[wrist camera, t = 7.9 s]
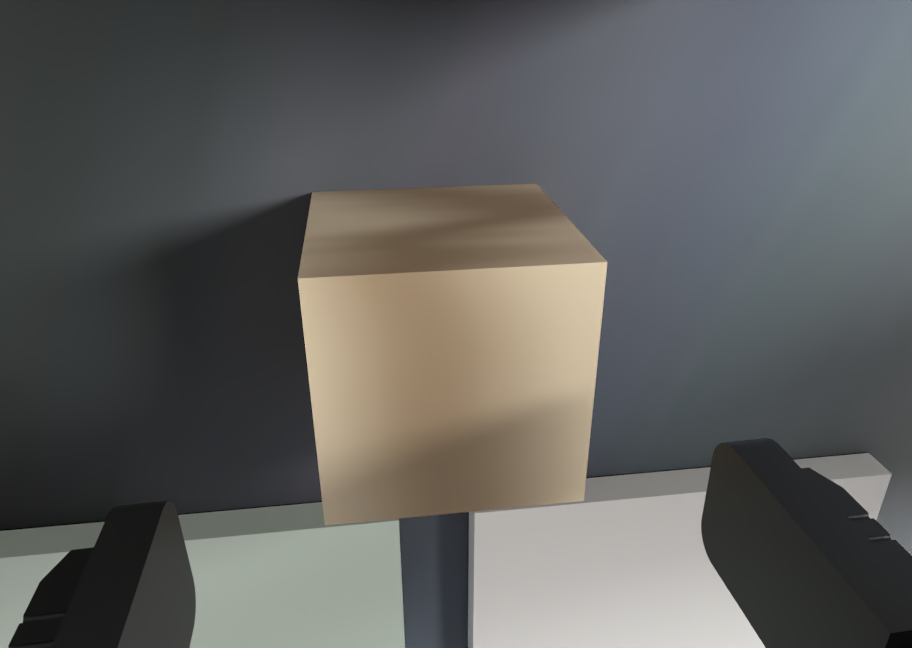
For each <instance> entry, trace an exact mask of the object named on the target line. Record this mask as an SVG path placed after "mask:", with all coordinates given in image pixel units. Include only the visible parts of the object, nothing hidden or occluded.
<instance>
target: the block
mask: <svg viewBox="0 0 912 648" xmlns="http://www.w3.org/2000/svg"><path fill="white" fill-rule="evenodd" d="M606 272H607V261H606V260H605V259H604V258H603V257H602V255H601V254H600V253H599V252H598V251H597V250H596V249H595V248H594V247H593V245H592V244H591V243H590V242H589V241H588V240H587V239H586V238H585V237H584V236H583V234H582V233H581V232H580V231H579V230H578V229H577V228H576V227H575V226H574V224H573V223H572V222H571V221H570V220H569V219H568V218H567V217H566V216H565V214H564V213H563V212H562V211H561V210H560V209H559V208H558V207H557V206H556V204H555V203H554V202H553V201H552V200H551V199H550V198H549V197H548V196H547V194H546V193H545V192H544V191H543V190H542V189H541V188H540V187H539V186H538V185H537V184H512V185H486V186H460V187H434V188H408V189H382V190H356V191H330V192H312V196H311V202H310V208H309V214H308V220H307V226H306V232H305V238H304V244H303V250H302V256H301V262H300V268H299V274H298V286H299V295H300V304H301V313H302V322H303V331H304V341H305V350H306V359H307V368H308V377H309V386H310V395H311V404H312V413H313V422H314V431H315V441H316V450H317V459H318V468H319V477H320V486H321V495H322V504H323V513H324V522H325V526H326V525H336V524H347V523H357V522H368V521H378V520H389V519H399V518H410V517H421V516H431V515H442V514H452V513H463V512H473V511H484V510H494V509H505V508H515V507H526V506H536V505H547V504H557V503H568V502H578V501H584V493H585V483H586V473H587V463H588V453H589V443H590V433H591V423H592V413H593V402H594V392H595V382H596V372H597V362H598V352H599V342H600V332H601V322H602V312H603V302H604V292H605V282H606Z"/></svg>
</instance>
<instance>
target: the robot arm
mask: <svg viewBox="0 0 912 648" xmlns="http://www.w3.org/2000/svg"><path fill="white" fill-rule="evenodd" d="M701 533H702V539H703V544H704V547H705V551H706V553H707V556H708V558H709V560H710V562H711V564H712V565H713V567H714V568H715V570H716V571H717V573H718V575H719V576H720V578H721V579H722V581H723V582H724V584H725V585H726V587H727V589H728V590H729V592H730V593H731V595H732V596H733V598H734V599H735V601H736V603H737V604H738V606H739V607H740V609H741V610H742V612H743V613H744V615H745V616H746V618H747V620H748V621H749V623H750V624H751V626H752V627H753V629H754V630H755V632H756V634H757V635H758V637H759V638H760V640H761V641H762V643H763V644H764V646H765V648H912V556H911V555H910V554H909V553H908V552H907V551H906V550H905V549H904V548H903V547H902V546H901V545H900V544H899V543H898V542H897V541H896V540H891V539H890V534H889V533H888V532H887V531H886V530H885V529H884V528H883V527H882V526H881V525H880V524H879V523H878V522H877V521H876V520H875V519H874V518H872V519H870V518H869V513H868V512H867V511H866V510H865V509H864V508H863V507H862V506H861V505H860V504H859V503H858V502H857V501H856V500H855V499H854V498H853V497H852V496H851V495H850V494H849V493H848V492H847V491H846V490H845V489H844V488H843V487H841V486H839V485H838V484H836V483H834V482H833V481H831V480H829V479H828V478H826V477H824V476H822V475H821V474H819V473H817V472H816V471H814V470H812V469H811V468H800V467H799V465H798V464H797V463H796V462H795V461H794V460H793V459H792V458H791V457H790V456H789V455H788V454H787V453H786V452H785V451H784V450H783V449H782V448H781V447H780V446H779V445H778V444H777V443H776V442H775V441H774V440H772V439H769V438H763V439H754V440H745V441H735V442H726V443H721V444H719V445H718V446H717V447H716V448H715V450H714V453H713V457H712V463H711V469H710V474H709V480H708V486H707V491H706V497H705V503H704V508H703V514H702V520H701ZM195 613H196V594H195V585H194V579H193V575H192V571H191V567H190V562H189V558H188V554H187V550H186V546H185V542H184V538H183V533H182V529H181V525H180V521H179V517H178V513H177V509H176V507H175V505H174V503H173V502H172V501H162V502H153V503H143V504H134V505H125V506H116V507H113V508H112V509H111V510H110V512H109V514H108V516H107V518H106V520H105V523H104V525H103V527H102V530H101V532H100V534H99V537H98V539H97V541H96V544H95V546H94V547H92V548H83V549H75V550H71V551H70V552H69V553H68V554H67V555H66V556H65V557H64V558H63V559H62V560H61V561H60V562H59V563H58V564H57V565H56V566H55V567H54V568H53V569H52V570H51V571H50V572H49V573H48V574H47V575H46V576H45V577H44V578H43V579H42V580H41V581H40V583H39V585H38V587H37V589H36V591H35V593H34V595H33V597H32V599H31V601H30V603H29V605H28V607H27V609H26V611H25V613H24V615H23V623H19V625H18V627H17V629H16V631H15V633H14V635H13V637H12V639H11V641H10V643H9V645H8V647H9V648H189V647H190V643H191V638H192V634H193V629H194V623H195Z"/></svg>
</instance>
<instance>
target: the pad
mask: <svg viewBox="0 0 912 648" xmlns="http://www.w3.org/2000/svg"><path fill="white" fill-rule="evenodd" d="M794 461H795V462H796V463H797V464H798V465H799V467H800V468H811V469H812V470H814V471H816V472H817V473H819V474H821V475H822V476H824V477H826V478H828V479H829V480H831V481H833V482H834V483H836V484H838V485H839V486H841V487H843V488H844V489H845V490H846V491H847V492H848V493H849V494H850V495H851V496H852V497H853V498H854V499H855V500H856V501H857V502H858V503H859V504H860V505H861V506H862V507H863V508H864V509H865V510H866V511H867V512H868V513H869V518H870V519H872V518H874V519H875V520H877V517H878V514H879V511H880V508H881V505H882V502H883V499H884V496H885V493H886V490H887V487H888V485H889V482H890V479H891V476H892V474H891V473H890V472H889V471H888V470H887V469H886V468H885V467H884V466H883V465H882V464H881V463H879V462H878V461H877V460H876V459H875V458H874V457H873V456H872V455H871V454H870V453H862V454H851V455H840V456H829V457H818V458H807V459H796V460H794ZM710 469H711V467H707V468H696V469H684V470H673V471H662V472H651V473H640V474H629V475H618V476H607V477H596V478H586V483H585V493H584V501H578V502H568V503H557V504H547V505H536V506H526V507H515V508H505V509H494V510H484V511H473V512H469V559H468V648H765V646H764V644H763V643H762V641H761V640H760V638H759V637H758V635H757V634H756V632H755V630H754V629H753V627H752V626H751V624H750V623H749V621H748V620H747V618H746V616H745V615H744V613H743V612H742V610H741V609H740V607H739V606H738V604H737V603H736V601H735V599H734V598H733V596H732V595H731V593H730V592H729V590H728V589H727V587H726V585H725V584H724V582H723V581H722V579H721V578H720V576H719V575H718V573H717V571H716V570H715V568H714V567H713V565H712V564H711V562H710V560H709V558H708V556H707V553H706V551H705V547H704V544H703V539H702V533H701V520H702V514H703V508H704V503H705V497H706V491H707V486H708V480H709V474H710Z"/></svg>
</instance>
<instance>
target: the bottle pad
mask: <svg viewBox="0 0 912 648" xmlns="http://www.w3.org/2000/svg"><path fill="white" fill-rule="evenodd" d="M178 517H179V521H180V525H181V529H182V533H183V538H184V542H185V546H186V550H187V554H188V558H189V562H190V567H191V571H192V575H193V579H194V585H195V594H196V613H195V623H194V629H193V634H192V638H191V643H190V647H189V648H405V635H404V615H403V594H402V574H401V553H400V533H399V519H389V520H378V521H368V522H357V523H347V524H336V525H326V526H325V522H324V513H323V504H322V502H318V503H307V504H296V505H285V506H273V507H262V508H251V509H240V510H229V511H218V512H207V513H196V514H185V515H178ZM104 523H105V522H96V523H85V524H74V525H62V526H51V527H40V528H29V529H18V530H7V531H0V648H9V647H8V645H9V643H10V641H11V639H12V637H13V635H14V633H15V631H16V629H17V627H18V625H19V623H23V615H24V613H25V611H26V609H27V607H28V605H29V603H30V601H31V599H32V597H33V595H34V593H35V591H36V589H37V587H38V585H39V583H40V581H41V580H42V579H43V578H44V577H45V576H46V575H47V574H48V573H49V572H50V571H51V570H52V569H53V568H54V567H55V566H56V565H57V564H58V563H59V562H60V561H61V560H62V559H63V558H64V557H65V556H66V555H67V554H68V553H69V552H70V551H71V550H75V549H83V548H92V547H94V546H95V544H96V541H97V539H98V537H99V534H100V532H101V530H102V527H103V525H104Z"/></svg>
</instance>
